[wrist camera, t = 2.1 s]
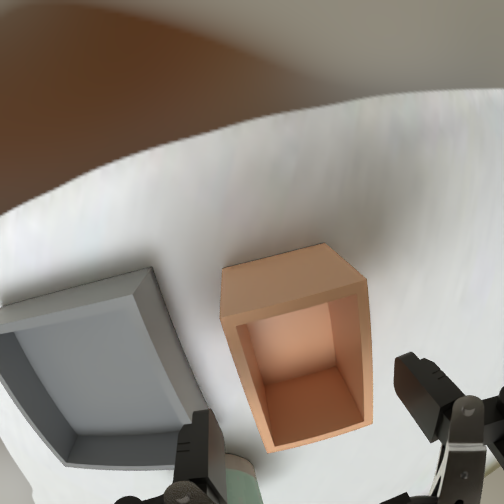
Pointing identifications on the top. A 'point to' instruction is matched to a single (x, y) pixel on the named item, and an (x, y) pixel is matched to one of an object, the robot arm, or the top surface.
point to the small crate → (300, 344)
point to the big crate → (100, 373)
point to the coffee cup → (241, 481)
